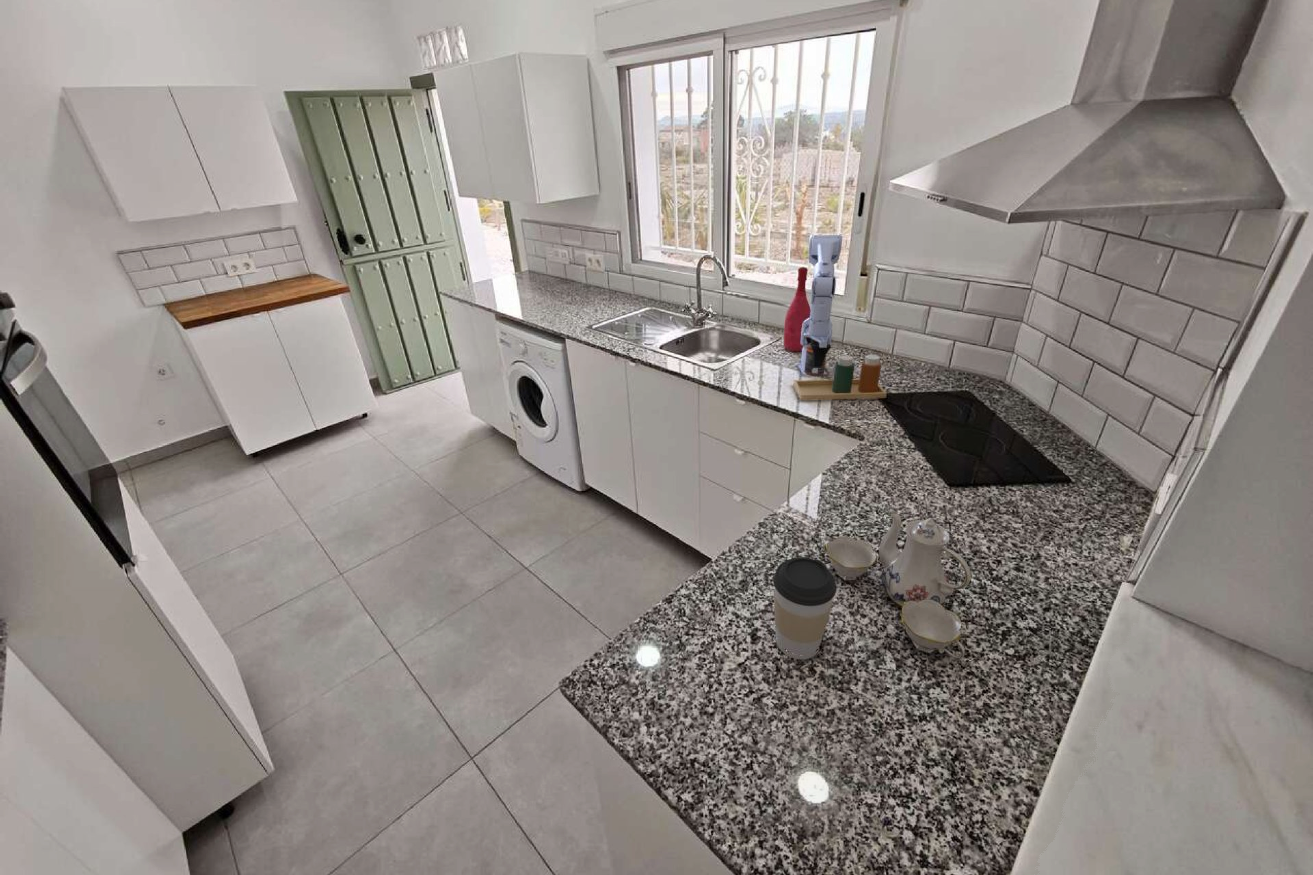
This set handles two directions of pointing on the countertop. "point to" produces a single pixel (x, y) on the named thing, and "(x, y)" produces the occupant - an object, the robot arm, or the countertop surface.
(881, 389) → the tray
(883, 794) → the countertop surface
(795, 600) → the coffee cup
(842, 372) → the dark green bottle
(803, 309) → the wine bottle
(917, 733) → the countertop surface
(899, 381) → the countertop surface
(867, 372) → the amber bottle
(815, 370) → the supplement bottle
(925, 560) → the chinaware
